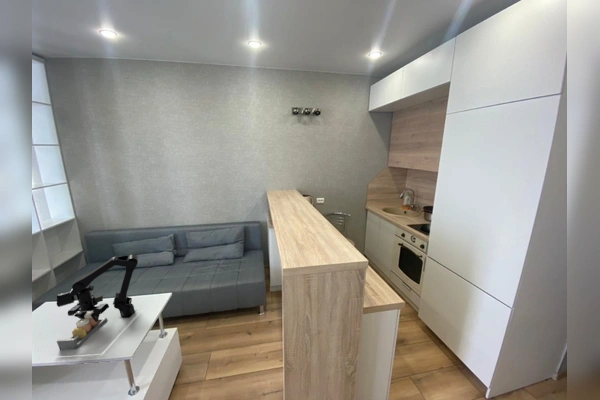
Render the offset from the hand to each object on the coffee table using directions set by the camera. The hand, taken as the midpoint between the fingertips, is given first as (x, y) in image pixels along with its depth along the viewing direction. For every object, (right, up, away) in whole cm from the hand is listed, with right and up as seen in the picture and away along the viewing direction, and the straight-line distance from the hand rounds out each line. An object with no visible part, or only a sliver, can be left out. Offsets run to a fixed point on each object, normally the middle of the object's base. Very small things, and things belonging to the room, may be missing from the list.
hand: (92, 321), depth 130 cm
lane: (0, -5, -4) cm, 7 cm away
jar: (0, -2, +1) cm, 2 cm away
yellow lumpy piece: (0, -5, -8) cm, 10 cm away
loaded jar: (0, -4, -4) cm, 6 cm away
